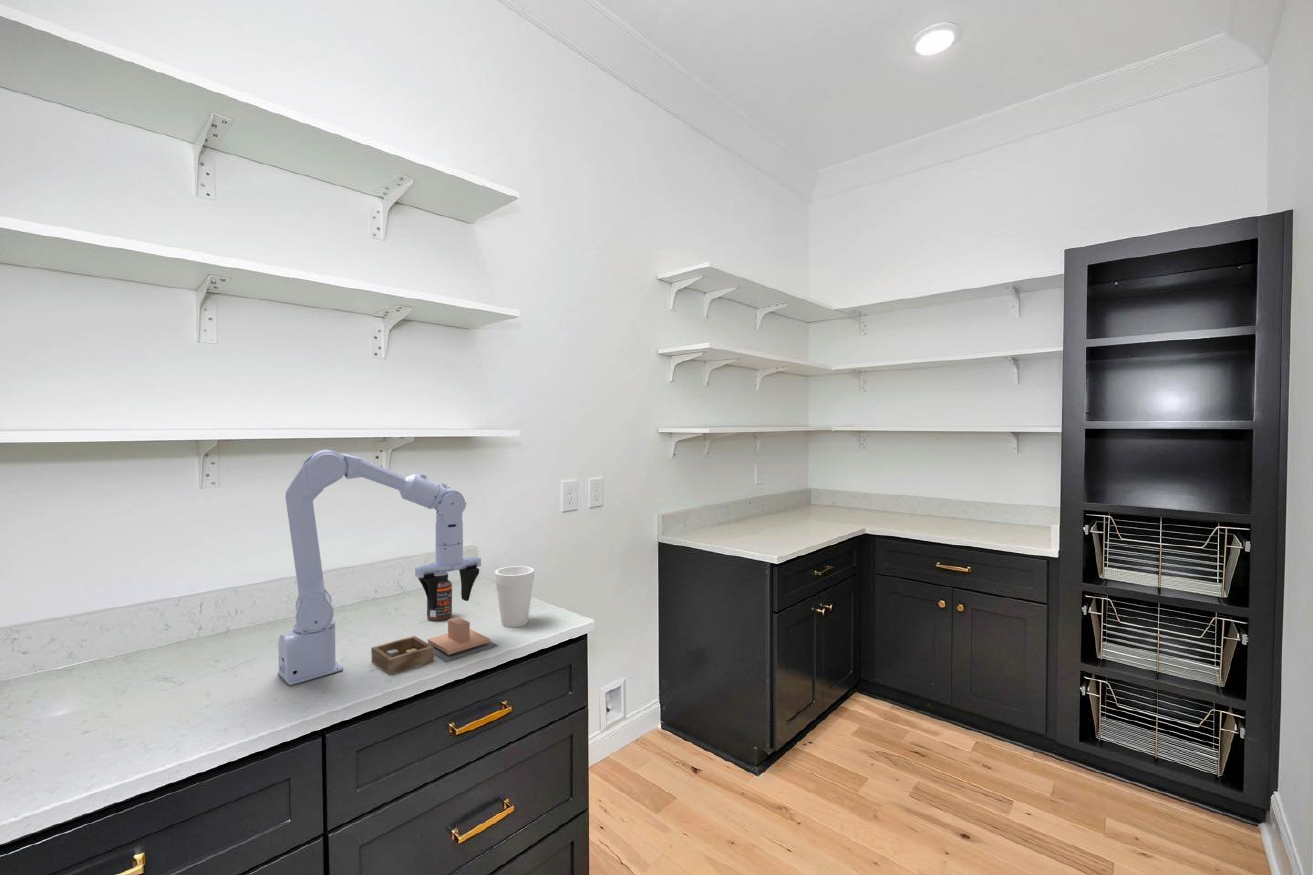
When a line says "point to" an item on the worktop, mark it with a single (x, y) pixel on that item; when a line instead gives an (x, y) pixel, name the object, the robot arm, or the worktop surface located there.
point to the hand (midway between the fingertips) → (449, 603)
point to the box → (402, 654)
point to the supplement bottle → (442, 599)
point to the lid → (458, 637)
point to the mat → (462, 652)
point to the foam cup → (514, 594)
